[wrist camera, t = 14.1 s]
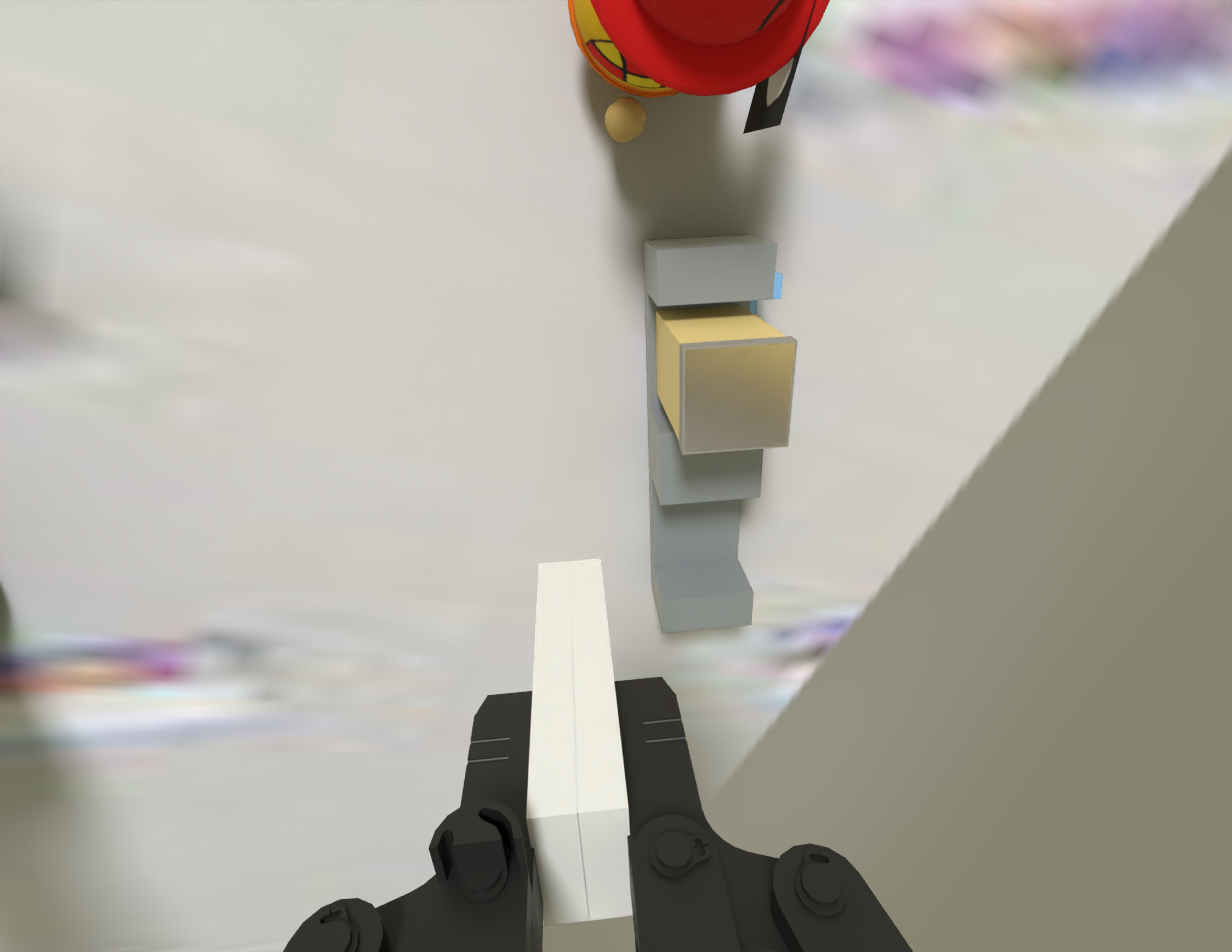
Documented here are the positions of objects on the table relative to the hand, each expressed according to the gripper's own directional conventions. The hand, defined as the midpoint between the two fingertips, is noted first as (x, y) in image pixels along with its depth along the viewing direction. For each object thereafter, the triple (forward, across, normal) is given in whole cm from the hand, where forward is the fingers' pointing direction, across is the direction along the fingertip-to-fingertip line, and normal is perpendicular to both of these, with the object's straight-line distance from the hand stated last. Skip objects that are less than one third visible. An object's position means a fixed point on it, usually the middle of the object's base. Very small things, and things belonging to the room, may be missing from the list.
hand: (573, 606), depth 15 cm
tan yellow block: (+23, +8, 0) cm, 25 cm away
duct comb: (+24, +8, -6) cm, 26 cm away
